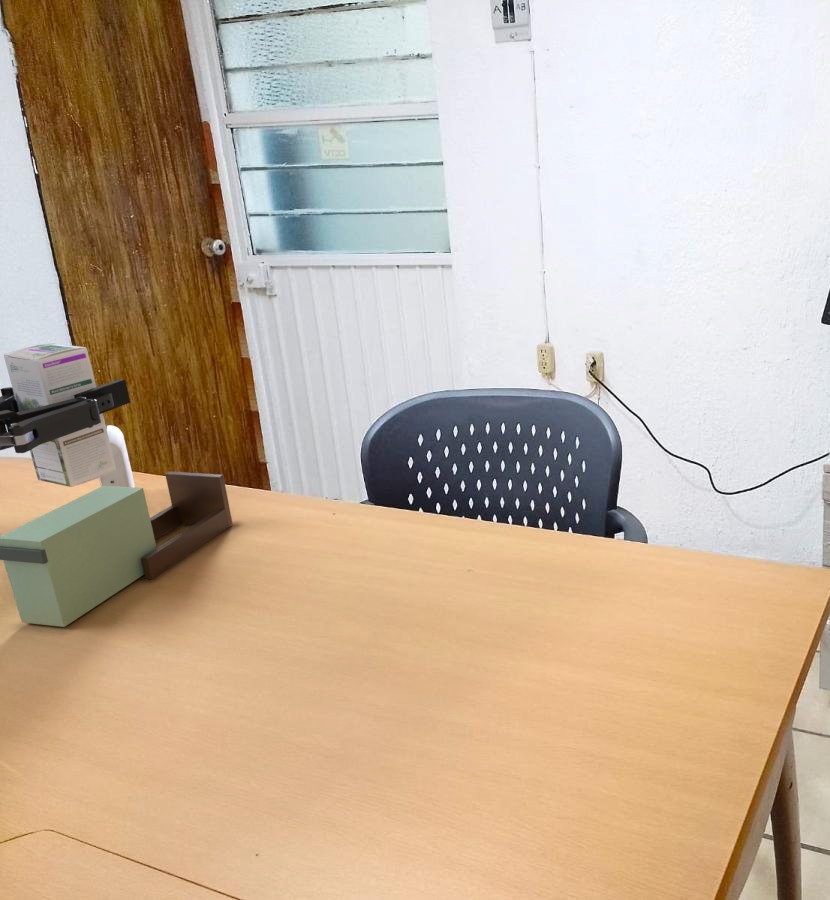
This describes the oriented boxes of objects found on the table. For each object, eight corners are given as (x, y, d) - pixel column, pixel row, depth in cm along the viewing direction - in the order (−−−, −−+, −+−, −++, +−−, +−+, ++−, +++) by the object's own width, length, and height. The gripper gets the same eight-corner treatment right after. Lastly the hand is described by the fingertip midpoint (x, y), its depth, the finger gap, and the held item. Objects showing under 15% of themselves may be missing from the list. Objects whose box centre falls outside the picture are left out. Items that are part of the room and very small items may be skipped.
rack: (93, 573, 109) (78, 518, 107) (180, 520, 125) (169, 471, 122) (152, 579, 107) (139, 523, 105) (232, 524, 123) (223, 474, 120)
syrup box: (119, 470, 94) (90, 344, 89) (69, 489, 89) (36, 356, 84) (85, 464, 96) (55, 340, 91) (34, 482, 91) (0, 352, 86)
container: (17, 624, 97) (-8, 539, 93) (121, 560, 112) (103, 485, 108) (62, 629, 96) (38, 543, 92) (161, 563, 111) (143, 487, 107)
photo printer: (137, 510, 129) (120, 435, 125) (105, 516, 127) (87, 439, 123) (137, 488, 138) (121, 417, 134) (108, 493, 136) (90, 422, 132)
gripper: (-174, 492, 76) (35, 417, 98) (0, 505, 72) (178, 424, 94) (-203, 414, 74) (18, 355, 95) (-24, 424, 70) (165, 359, 91)
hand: (97, 389), depth 94 cm, fingers closed on syrup box, 6 cm apart
